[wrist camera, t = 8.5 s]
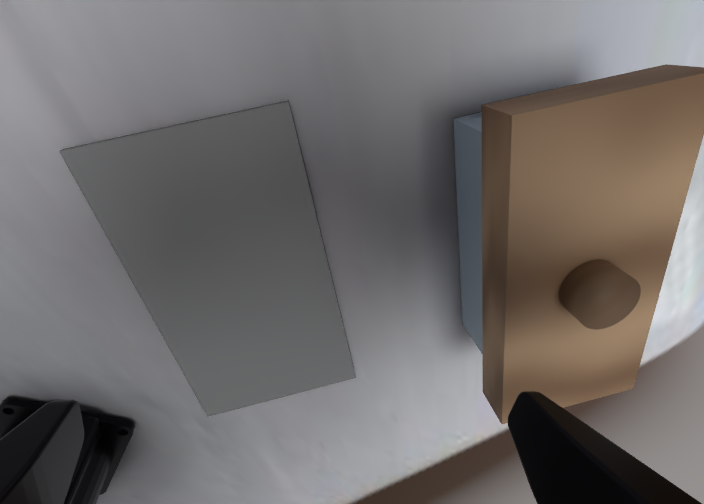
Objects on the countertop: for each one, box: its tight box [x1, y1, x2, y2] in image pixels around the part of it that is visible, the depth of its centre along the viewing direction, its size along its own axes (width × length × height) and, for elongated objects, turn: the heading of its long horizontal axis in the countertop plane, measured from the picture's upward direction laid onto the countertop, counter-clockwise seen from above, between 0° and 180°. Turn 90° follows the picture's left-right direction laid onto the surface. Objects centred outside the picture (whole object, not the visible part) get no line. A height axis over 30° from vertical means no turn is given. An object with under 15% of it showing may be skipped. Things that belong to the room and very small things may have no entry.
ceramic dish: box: [453, 113, 483, 354], centre depth 19 cm, size 12×6×4 cm, turn 10°
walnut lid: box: [481, 65, 704, 424], centre depth 16 cm, size 14×7×3 cm, turn 10°
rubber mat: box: [59, 101, 356, 416], centre depth 20 cm, size 16×9×1 cm, turn 10°
